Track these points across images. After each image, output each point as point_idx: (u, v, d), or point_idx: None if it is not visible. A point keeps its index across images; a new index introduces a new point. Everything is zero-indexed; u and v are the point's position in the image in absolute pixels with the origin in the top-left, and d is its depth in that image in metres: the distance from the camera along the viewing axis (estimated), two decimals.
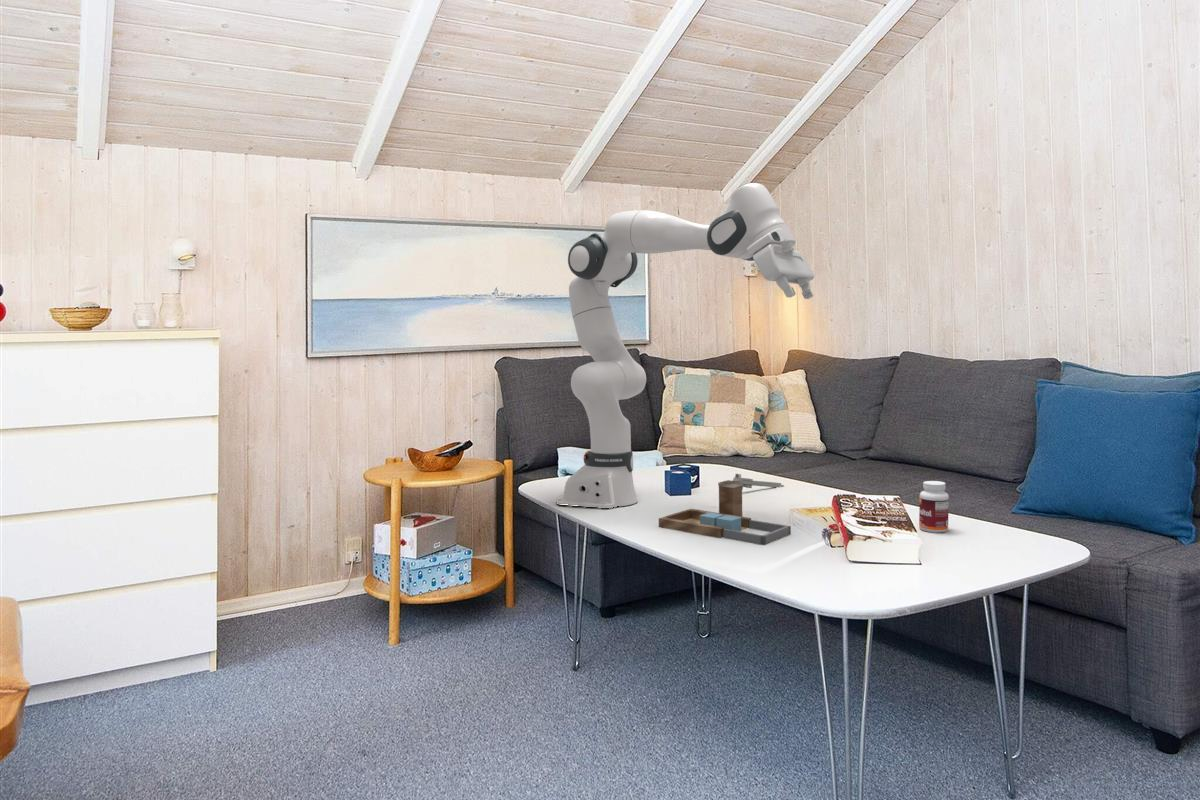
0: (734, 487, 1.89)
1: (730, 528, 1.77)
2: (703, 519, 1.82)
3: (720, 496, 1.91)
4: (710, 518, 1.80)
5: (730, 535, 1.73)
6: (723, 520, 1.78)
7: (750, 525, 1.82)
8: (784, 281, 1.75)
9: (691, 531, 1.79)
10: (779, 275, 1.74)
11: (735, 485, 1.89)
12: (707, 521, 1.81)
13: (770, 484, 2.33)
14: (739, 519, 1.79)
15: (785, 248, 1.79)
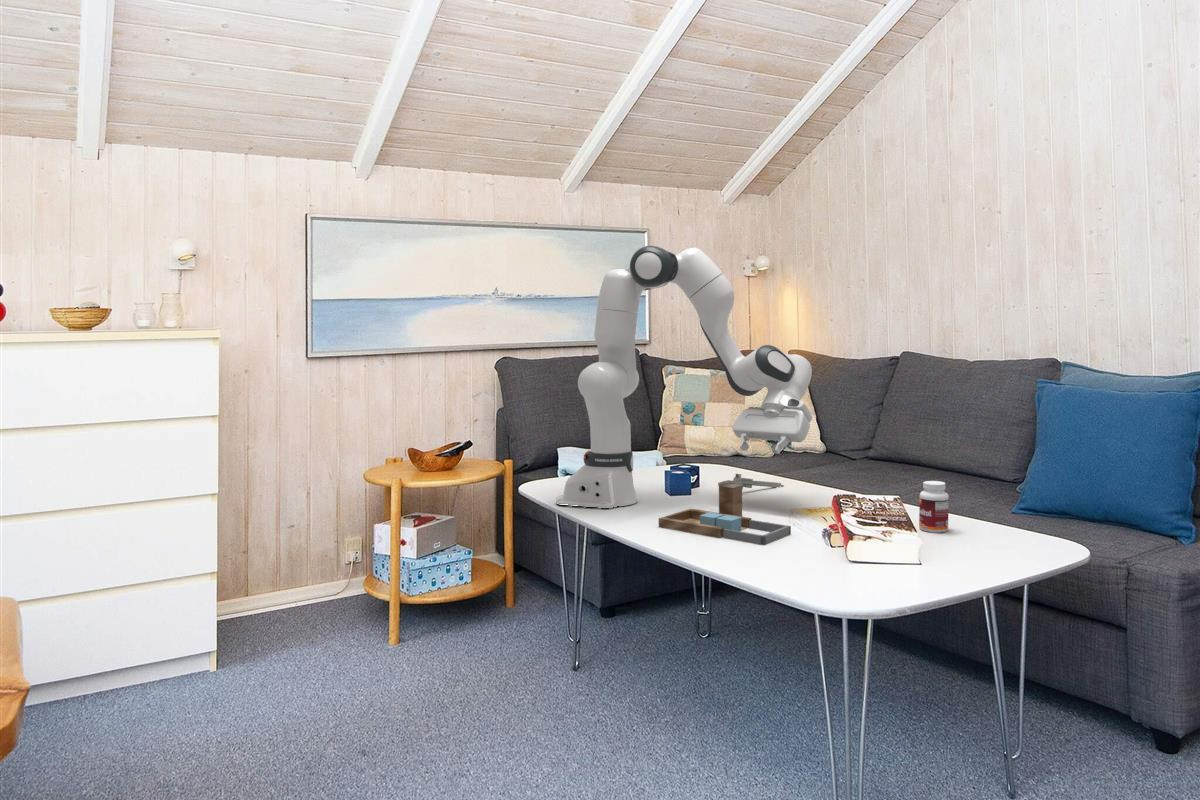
0: (734, 487, 1.89)
1: (730, 528, 1.77)
2: (703, 519, 1.82)
3: (720, 496, 1.91)
4: (710, 518, 1.80)
5: (730, 535, 1.73)
6: (723, 520, 1.78)
7: (750, 525, 1.82)
8: (786, 443, 1.97)
9: (691, 531, 1.79)
10: (794, 440, 1.97)
11: (735, 485, 1.89)
12: (707, 521, 1.81)
13: (770, 484, 2.33)
14: (739, 519, 1.79)
15: None
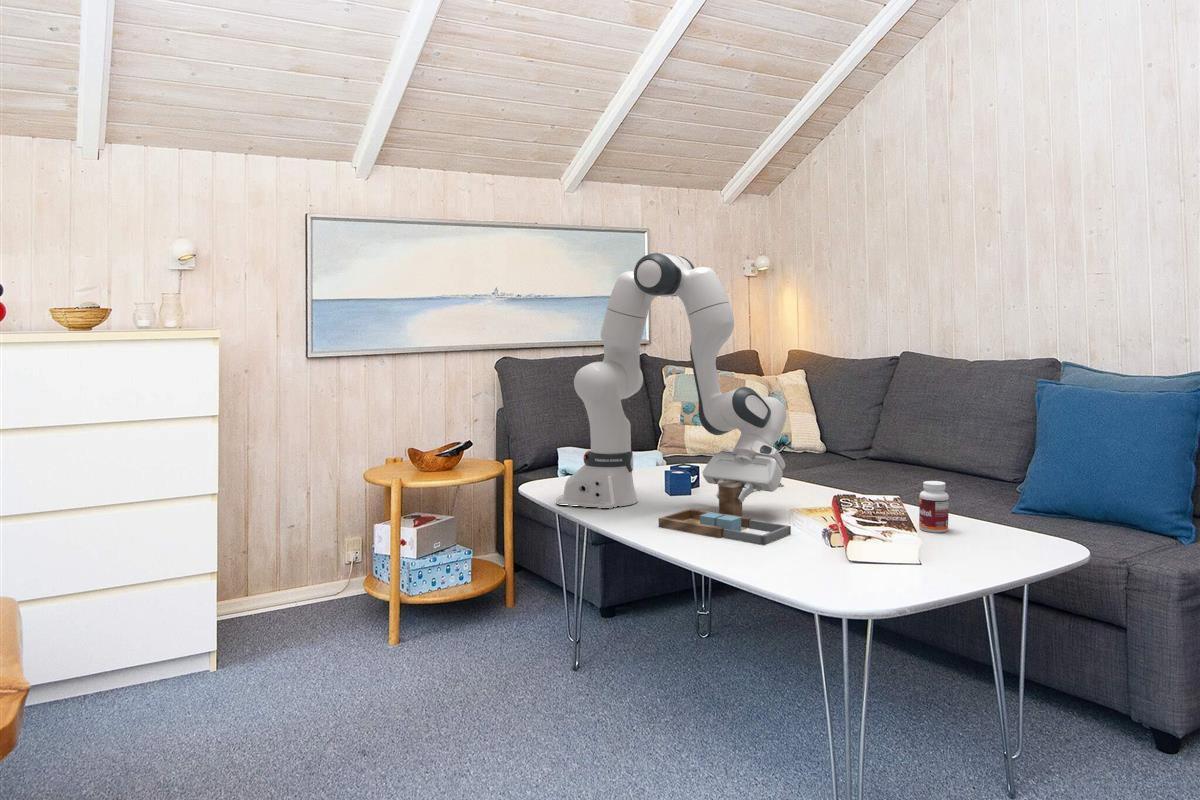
0: (734, 487, 1.89)
1: (730, 528, 1.77)
2: (703, 519, 1.82)
3: (720, 496, 1.91)
4: (710, 518, 1.80)
5: (730, 535, 1.73)
6: (723, 520, 1.78)
7: (750, 525, 1.82)
8: (750, 492, 1.90)
9: (691, 531, 1.79)
10: (766, 489, 1.89)
11: (735, 485, 1.89)
12: (707, 521, 1.81)
13: None
14: (739, 519, 1.79)
15: None
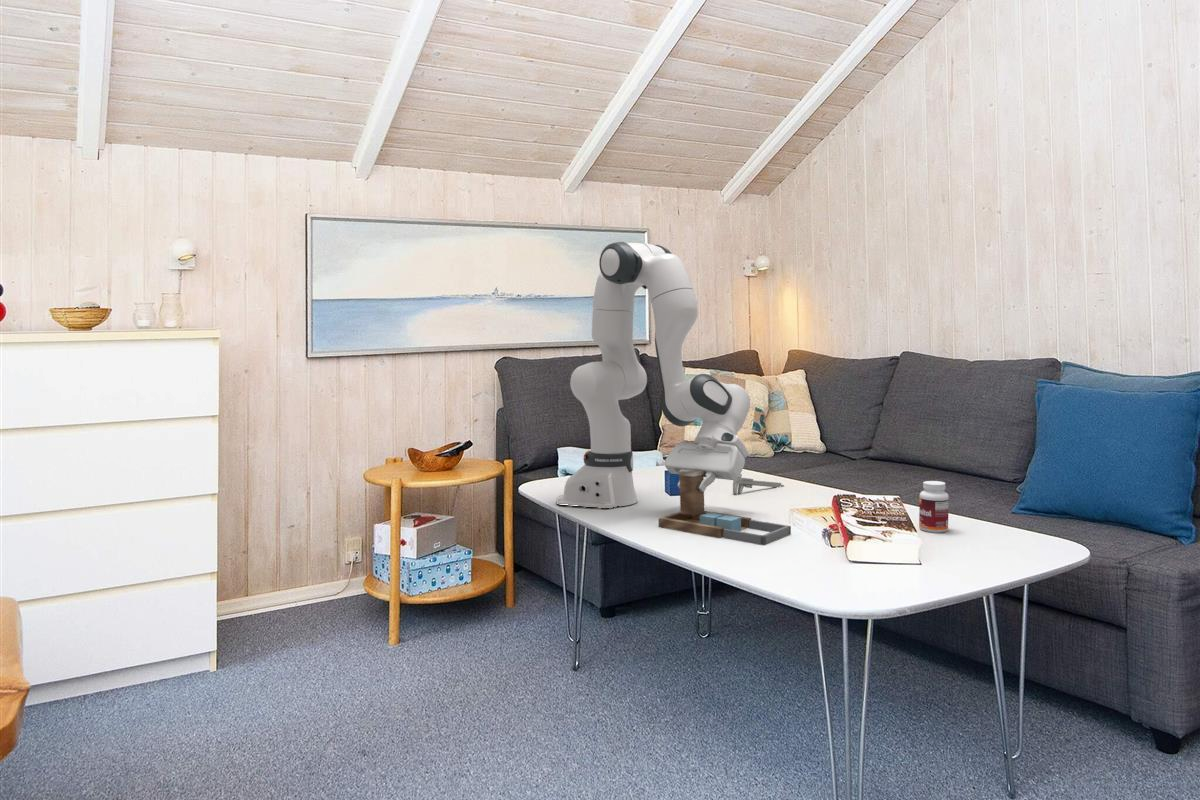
0: (695, 476, 1.83)
1: (730, 528, 1.77)
2: (703, 519, 1.82)
3: (681, 485, 1.85)
4: (710, 518, 1.80)
5: (730, 535, 1.73)
6: (723, 520, 1.78)
7: (750, 525, 1.82)
8: (712, 481, 1.84)
9: (691, 531, 1.79)
10: (727, 478, 1.83)
11: (696, 474, 1.83)
12: (707, 521, 1.81)
13: (770, 484, 2.33)
14: (739, 519, 1.79)
15: None
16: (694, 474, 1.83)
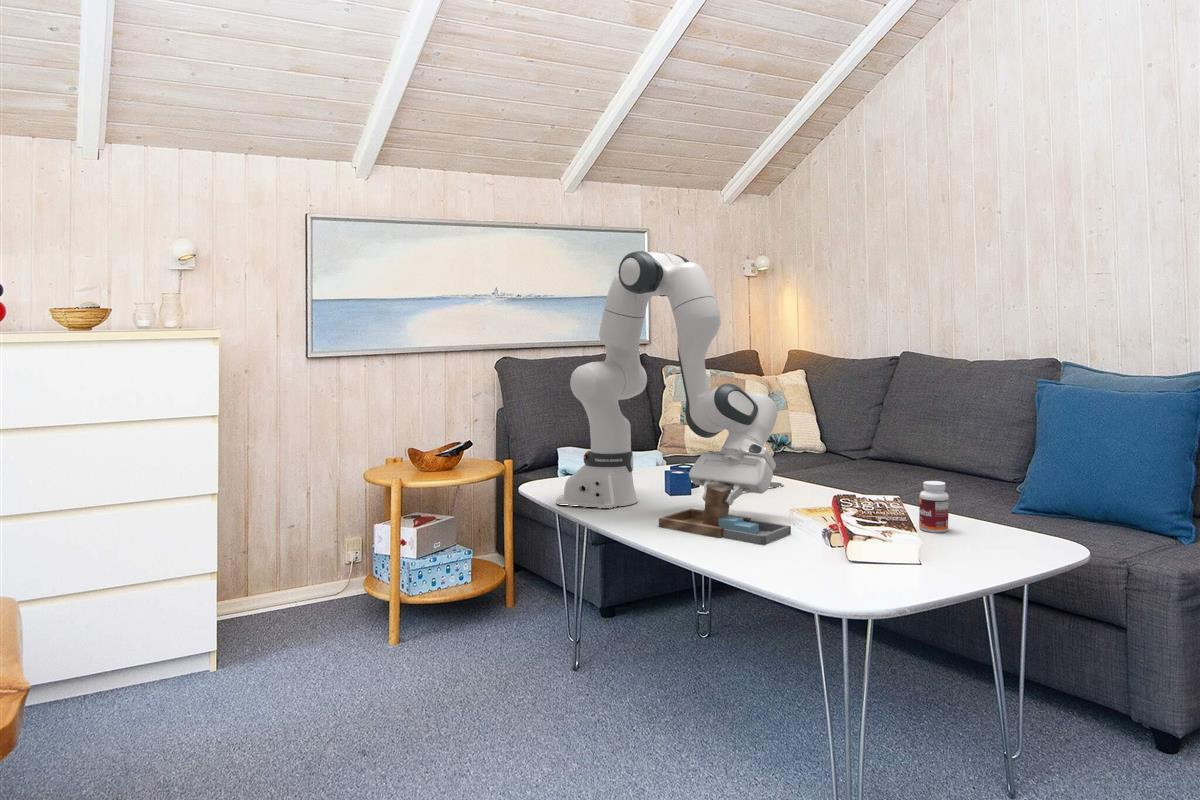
0: (723, 491, 1.79)
1: None
2: (722, 522, 1.78)
3: (707, 498, 1.81)
4: (729, 521, 1.77)
5: (730, 535, 1.73)
6: (741, 526, 1.75)
7: None
8: (740, 494, 1.79)
9: (691, 531, 1.79)
10: (755, 491, 1.78)
11: (724, 489, 1.78)
12: (726, 524, 1.78)
13: (770, 484, 2.33)
14: (757, 525, 1.76)
15: None
16: (723, 489, 1.78)
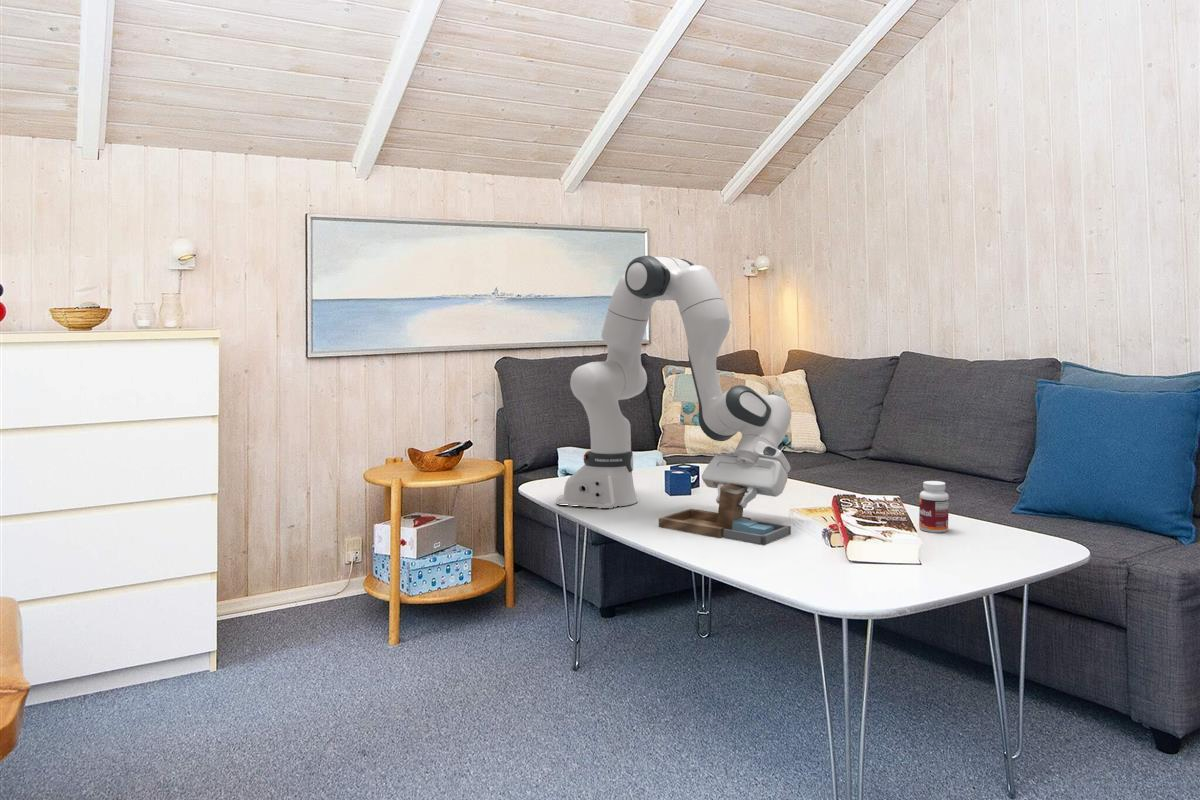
0: (737, 494, 1.76)
1: None
2: (735, 525, 1.76)
3: (721, 501, 1.78)
4: (744, 525, 1.75)
5: (730, 535, 1.73)
6: (755, 529, 1.73)
7: None
8: (753, 497, 1.77)
9: (691, 531, 1.79)
10: (770, 494, 1.75)
11: (738, 491, 1.76)
12: (741, 528, 1.75)
13: None
14: (772, 528, 1.74)
15: None
16: (737, 492, 1.76)
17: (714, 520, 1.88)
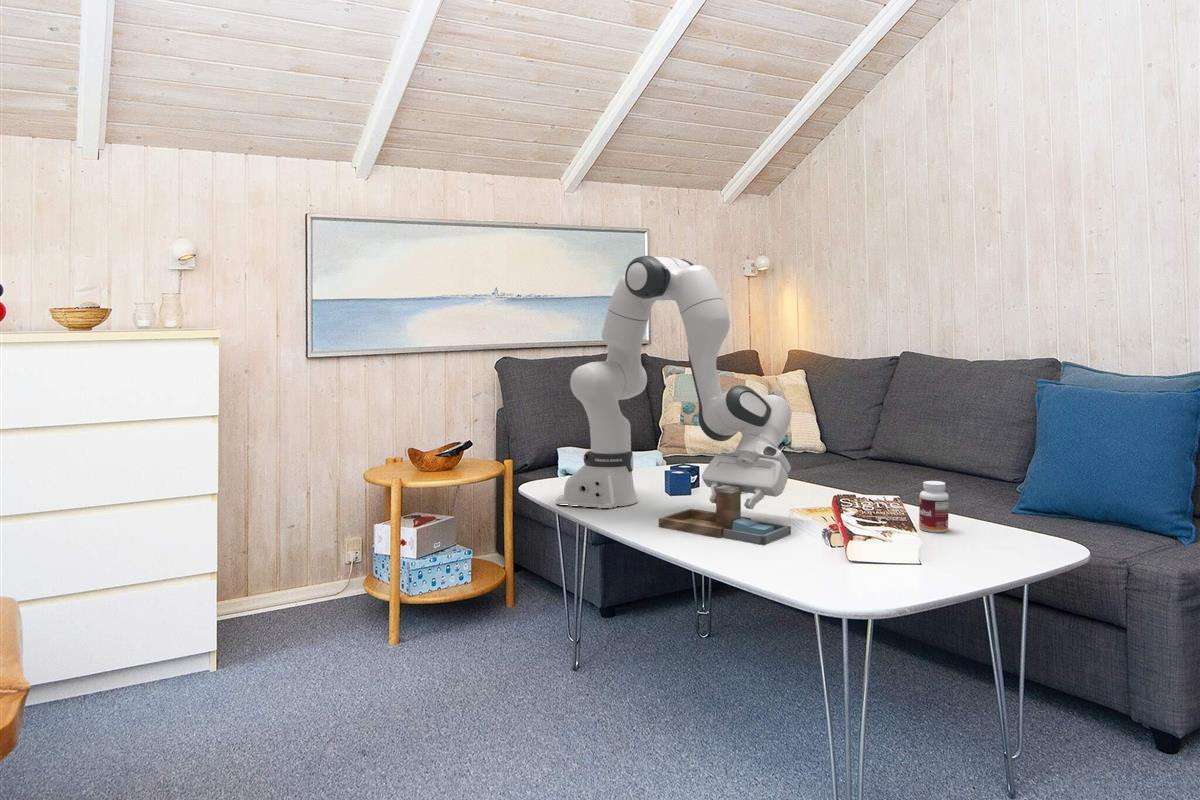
0: (733, 493, 1.77)
1: None
2: (736, 525, 1.76)
3: (717, 502, 1.79)
4: (744, 525, 1.75)
5: (730, 535, 1.73)
6: (755, 529, 1.73)
7: None
8: (761, 498, 1.76)
9: (691, 531, 1.79)
10: (770, 494, 1.75)
11: (733, 490, 1.77)
12: (741, 528, 1.75)
13: None
14: (772, 528, 1.74)
15: None
16: (732, 491, 1.76)
17: (714, 520, 1.88)
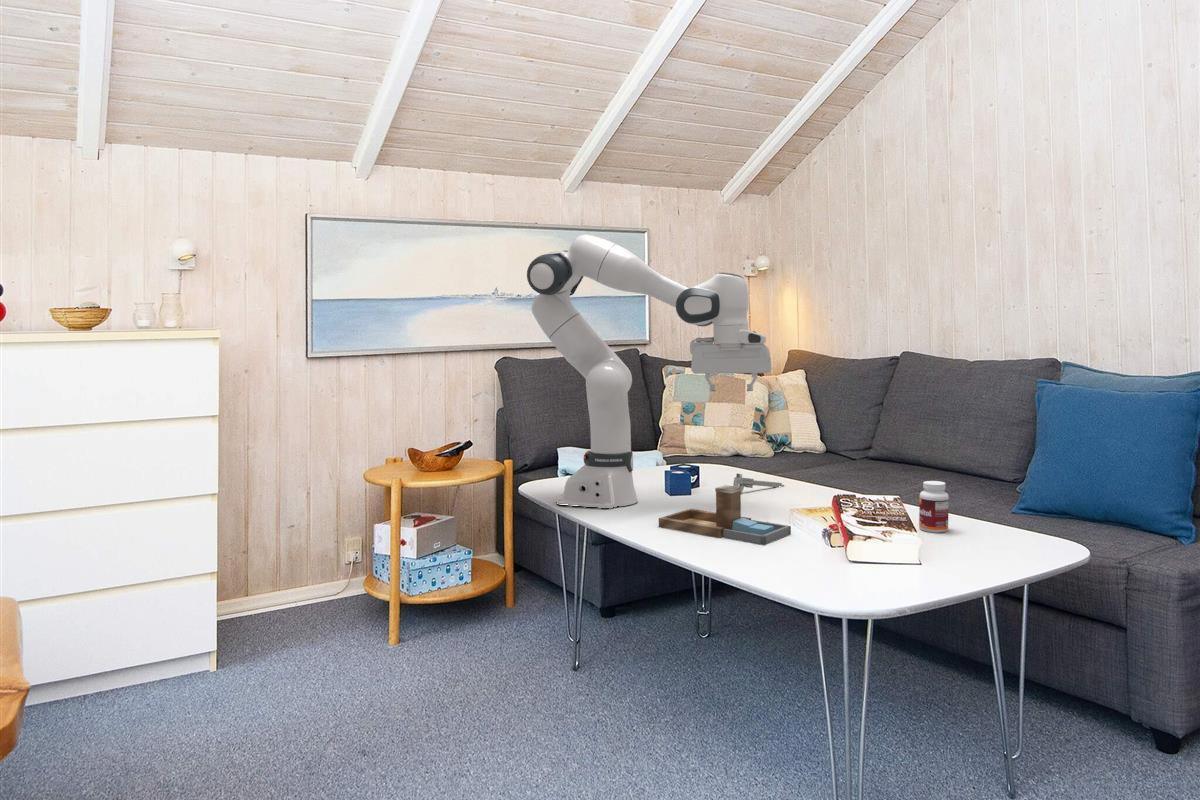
0: (733, 493, 1.77)
1: None
2: (736, 525, 1.76)
3: (717, 502, 1.79)
4: (744, 525, 1.75)
5: (730, 535, 1.73)
6: (756, 529, 1.73)
7: None
8: None
9: (691, 531, 1.79)
10: None
11: (733, 490, 1.77)
12: (741, 528, 1.75)
13: (771, 484, 2.33)
14: (772, 528, 1.74)
15: None
16: (732, 491, 1.76)
17: (714, 520, 1.88)
